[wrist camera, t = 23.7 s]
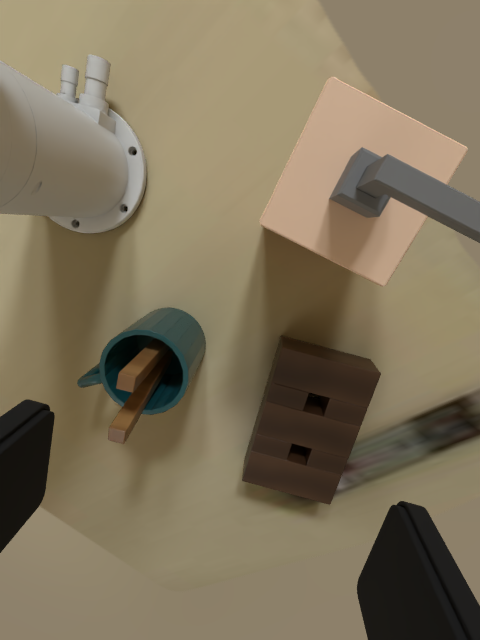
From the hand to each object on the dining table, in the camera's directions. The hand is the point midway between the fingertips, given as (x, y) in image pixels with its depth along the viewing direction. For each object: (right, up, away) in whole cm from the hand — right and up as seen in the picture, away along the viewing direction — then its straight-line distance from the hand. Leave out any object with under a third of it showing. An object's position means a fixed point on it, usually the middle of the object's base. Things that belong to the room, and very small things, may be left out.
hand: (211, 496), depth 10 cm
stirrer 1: (-7, +3, +31) cm, 32 cm away
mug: (-9, +2, +32) cm, 33 cm away
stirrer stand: (+8, -6, +32) cm, 34 cm away
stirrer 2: (-8, +1, +31) cm, 32 cm away
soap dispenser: (+11, +15, +27) cm, 33 cm away
